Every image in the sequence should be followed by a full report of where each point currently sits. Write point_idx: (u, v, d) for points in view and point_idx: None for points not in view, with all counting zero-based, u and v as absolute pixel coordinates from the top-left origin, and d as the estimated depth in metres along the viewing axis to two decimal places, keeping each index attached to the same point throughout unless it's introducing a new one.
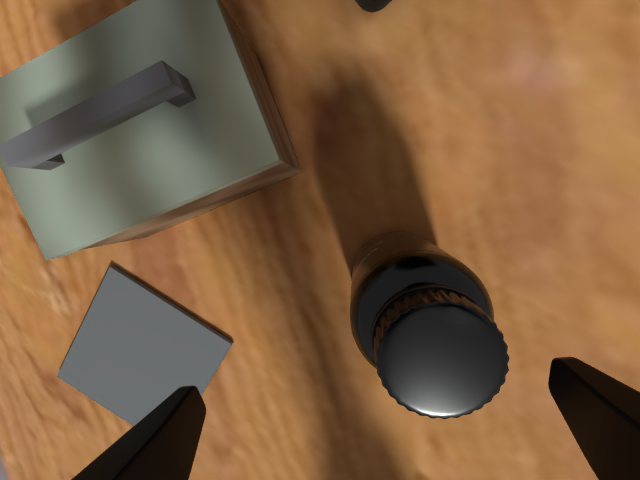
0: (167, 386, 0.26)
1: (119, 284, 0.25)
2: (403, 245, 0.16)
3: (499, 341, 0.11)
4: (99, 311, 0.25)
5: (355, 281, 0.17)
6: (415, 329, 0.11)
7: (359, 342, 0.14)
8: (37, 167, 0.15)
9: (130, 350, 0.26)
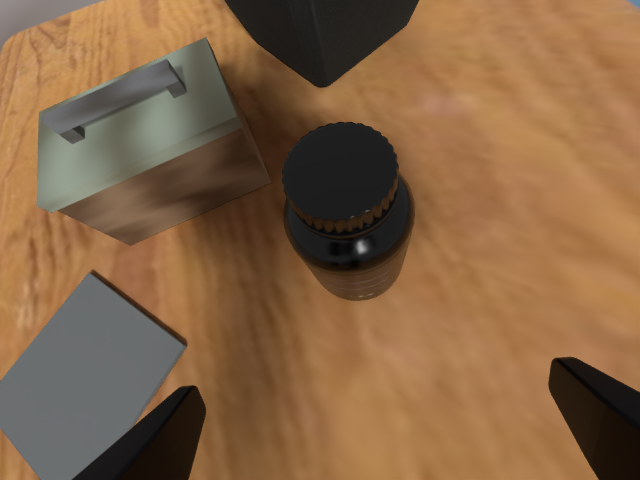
0: (99, 408, 0.22)
1: (91, 289, 0.25)
2: None
3: (384, 142, 0.12)
4: (61, 318, 0.25)
5: None
6: (313, 145, 0.13)
7: (288, 226, 0.15)
8: (63, 135, 0.21)
9: (74, 362, 0.23)
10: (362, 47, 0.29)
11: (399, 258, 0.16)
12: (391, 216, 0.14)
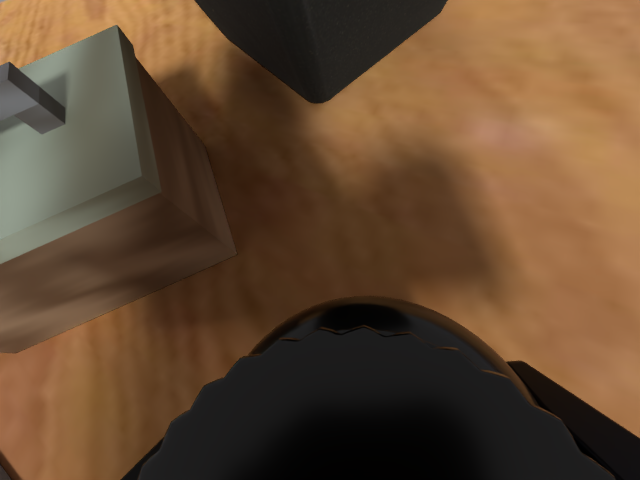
0: None
1: None
2: None
3: None
4: None
5: None
6: (247, 453, 0.03)
7: None
8: None
9: None
10: (378, 43, 0.19)
11: None
12: None
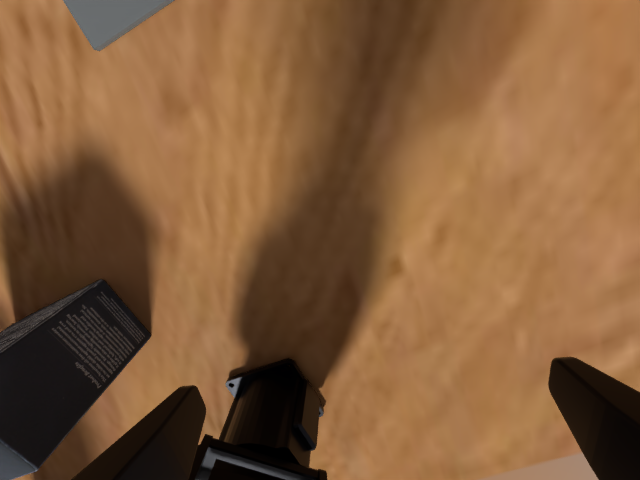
0: None
1: None
2: None
3: None
4: None
5: None
6: None
7: None
8: None
9: None
10: None
11: None
12: None
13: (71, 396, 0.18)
